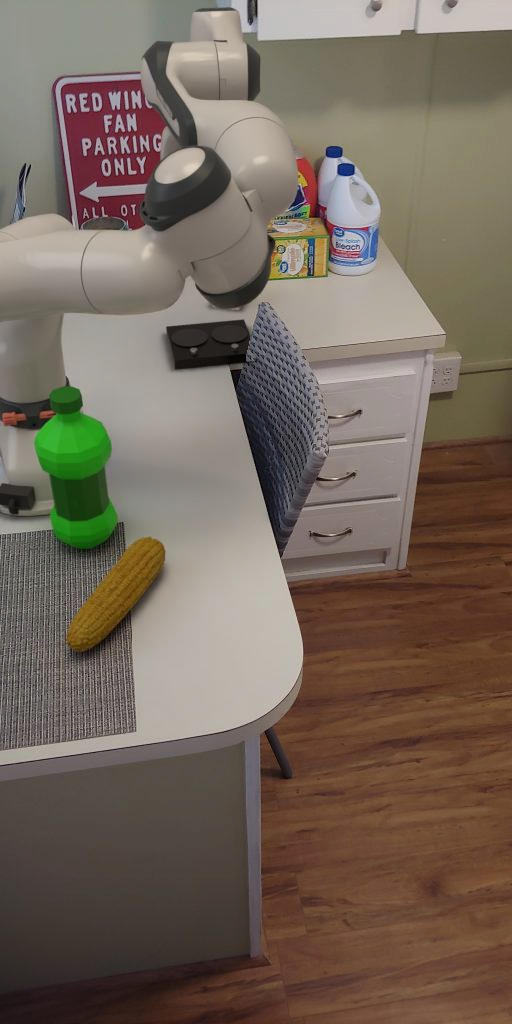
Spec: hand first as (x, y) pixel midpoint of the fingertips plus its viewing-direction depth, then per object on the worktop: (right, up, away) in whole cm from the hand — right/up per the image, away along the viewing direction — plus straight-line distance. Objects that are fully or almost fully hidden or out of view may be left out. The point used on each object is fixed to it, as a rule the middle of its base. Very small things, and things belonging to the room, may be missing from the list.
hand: (219, 195), depth 165 cm
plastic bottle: (-19, -60, -25) cm, 68 cm away
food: (-12, -69, -37) cm, 80 cm away
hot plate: (-3, -24, +20) cm, 31 cm away
